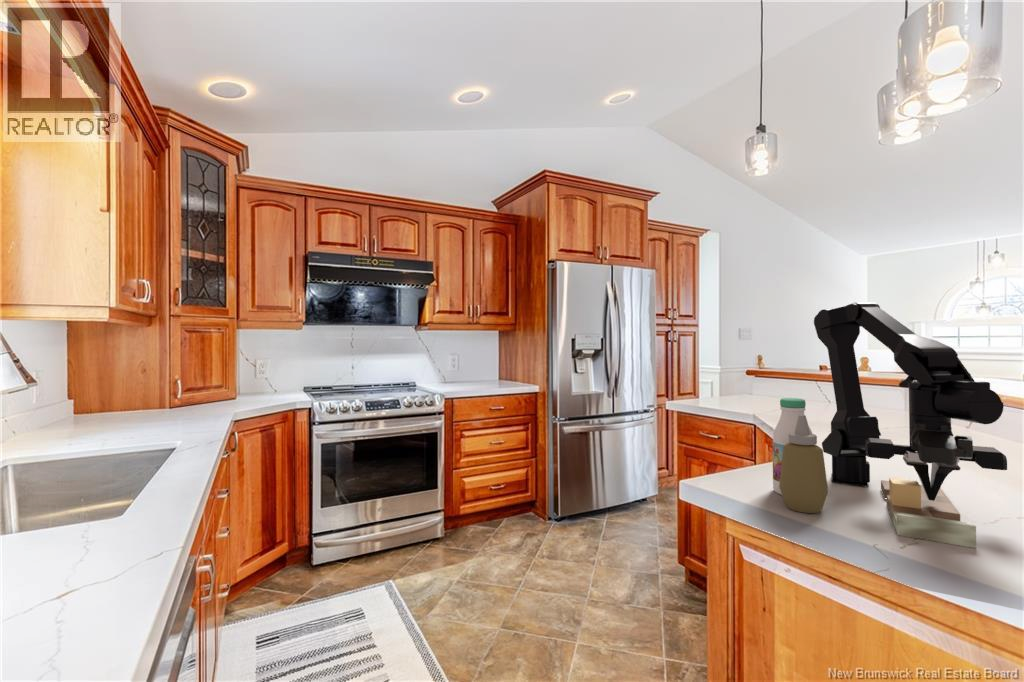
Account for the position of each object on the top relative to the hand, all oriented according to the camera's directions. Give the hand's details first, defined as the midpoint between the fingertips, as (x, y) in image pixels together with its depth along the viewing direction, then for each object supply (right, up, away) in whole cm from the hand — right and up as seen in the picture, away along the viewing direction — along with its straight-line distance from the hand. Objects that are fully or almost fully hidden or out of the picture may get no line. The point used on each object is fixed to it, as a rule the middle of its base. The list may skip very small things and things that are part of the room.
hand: (931, 499), depth 86 cm
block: (-4, -1, +1) cm, 4 cm away
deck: (-1, -3, +1) cm, 3 cm away
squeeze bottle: (-20, -4, +5) cm, 21 cm away
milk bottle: (-17, -4, +14) cm, 22 cm away
